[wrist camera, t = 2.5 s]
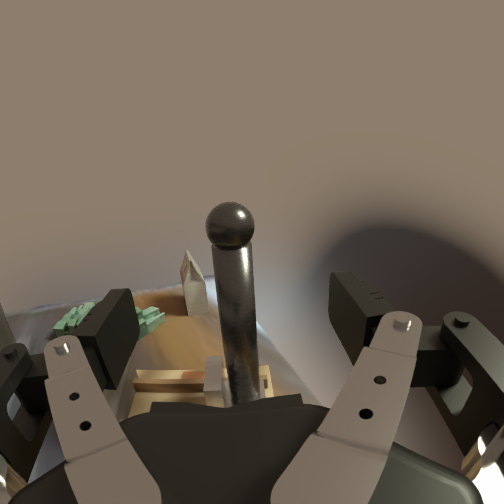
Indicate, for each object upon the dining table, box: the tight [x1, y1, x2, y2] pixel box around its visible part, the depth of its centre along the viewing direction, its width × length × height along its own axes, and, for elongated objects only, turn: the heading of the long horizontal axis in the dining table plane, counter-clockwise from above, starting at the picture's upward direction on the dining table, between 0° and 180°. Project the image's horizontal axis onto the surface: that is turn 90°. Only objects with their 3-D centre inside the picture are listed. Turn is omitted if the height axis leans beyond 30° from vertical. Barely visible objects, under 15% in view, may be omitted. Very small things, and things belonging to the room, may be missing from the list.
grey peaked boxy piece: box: [180, 250, 209, 316], centre depth 53 cm, size 4×7×10 cm, turn 17°
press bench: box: [103, 356, 274, 423], centre depth 28 cm, size 18×14×8 cm
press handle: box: [203, 202, 266, 408], centre depth 25 cm, size 6×5×21 cm
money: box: [53, 302, 166, 341], centre depth 47 cm, size 20×16×5 cm
